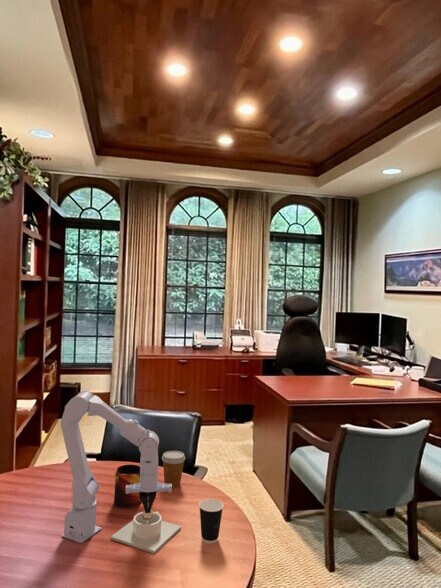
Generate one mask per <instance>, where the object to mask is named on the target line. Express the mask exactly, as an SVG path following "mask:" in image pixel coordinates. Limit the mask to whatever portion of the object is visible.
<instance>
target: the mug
mask: <svg viewBox="0 0 441 588" xmlns="http://www.w3.org/2000/svg"><path fill="white" fill-rule="evenodd" d="M114 477H115V480H114V482H115V483H114V497H113V498H114V500H113V505H114V506H115V507H116V508H118V509H123V510H124V509H133V508H137V507H138V506H140V504H141V503H142V502H141V500H140V497H139V495H140V492H136V493H129V494H126V485H133V484H139V483H140V465H136V464H124V465H120V466H118V467H116V468H115V475H114ZM148 495H149V492H148Z"/></svg>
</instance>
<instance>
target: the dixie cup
mask: <svg viewBox="0 0 441 588" xmlns="http://www.w3.org/2000/svg"><path fill="white" fill-rule="evenodd" d="M224 506H225V505H224V503H223V502H222V501H220V500H218V499H215V498H207V499H203V500H201V501H199V504H198V507H199V517H200V534H201V535H200V536H201V539H202V540H201V541H202V542H203V543H205V544H210V545H211V544H212V545H213V544H215V543H216V542H218V538H219V534H220V529H221V522H222V521H221V520H222V516H223V510H224Z"/></svg>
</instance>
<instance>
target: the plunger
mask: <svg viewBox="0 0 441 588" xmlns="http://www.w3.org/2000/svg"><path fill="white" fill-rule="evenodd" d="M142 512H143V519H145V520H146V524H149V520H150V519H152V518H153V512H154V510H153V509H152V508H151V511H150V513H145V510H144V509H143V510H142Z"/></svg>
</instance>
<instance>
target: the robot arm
mask: <svg viewBox="0 0 441 588" xmlns="http://www.w3.org/2000/svg"><path fill="white" fill-rule="evenodd" d="M86 414H87V417H93V416H94V417H96V416H98V417H100V418H102V419H104V420H105V421H107V422H108V423H109V424H111V425H113V426H115V427H116V428H117V429H119V434H120V436H122V437H124V439H126V440H127V441H128V442H130V443H132V444H133V445H135V446H136V447H138V450H139V452H140V462H139V466H140V483H139V484H133V485H126V494H129V493H136V492H140V495H139V497H140V500H141V503H142V506H143V508H144V509H143V510H145V513H150V511H151V509H152V507H153V505H154V502H155V500H156V499H157V493H159V492H160V493H164V492H165V493H166V492H167V493H172V491H173V490H172V489H173V487H172V484H165V482H164V483H163V482H159V450H158V449H159V444H160V438H159V436H158V434H157V433H156V431H151V430H150V429H146V428H145V427H144V426H142V425H140V424H139V420H137V419H134V420H133V418H130V419H126V418H124V417H123V415H121V414H119V413H118V412H117V411H116V410H114V409H113V408H112V407H111V406H110V405H108V404H107V403H106V402H104V400H102V399H101V398H100V397H99V396H98V395H95V394H94V393H92V392H91V391H89V390H83V391H80V392H78V394H77V395H75V396H74V397H72V398H71V399H70V400H69V401H68V402H67V403H66V405H64V411H63V414H62V417H61V419H60V428H61V432H62V437H63V441H64V445H65V449H66V454H67V457H68V462H69V466H70V469H71V474H72V484H71V490H72V491H71V492H72V495H71V503H72V507H71V508H70V510H69V511H67V513H66V514H65V516H64V527H63V528H64V529H63V533H62V535H61V537H63V538H66V539H69V540H71V541H74V542H76V543H80V544H82V543H84V542H85V541H87V540H89V538H91V537H92V536H94V535H96V533H98V532H99V531H101V530H102V527H100V526H97V525H96V523H97V522H96V521H97V499H96V495H97V493H98V491H99V482H98V481H97V479H96V478H95V477H94V473H93V472H92V471H91V470H90V467H89V463H88V459H87V454H86V451H85V447H84V441H83V438H82V433H81V429H80V425H79V423H80V421H81V420H82V418H83V417H84V416H85V415H86ZM148 492H149V495H148Z"/></svg>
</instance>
